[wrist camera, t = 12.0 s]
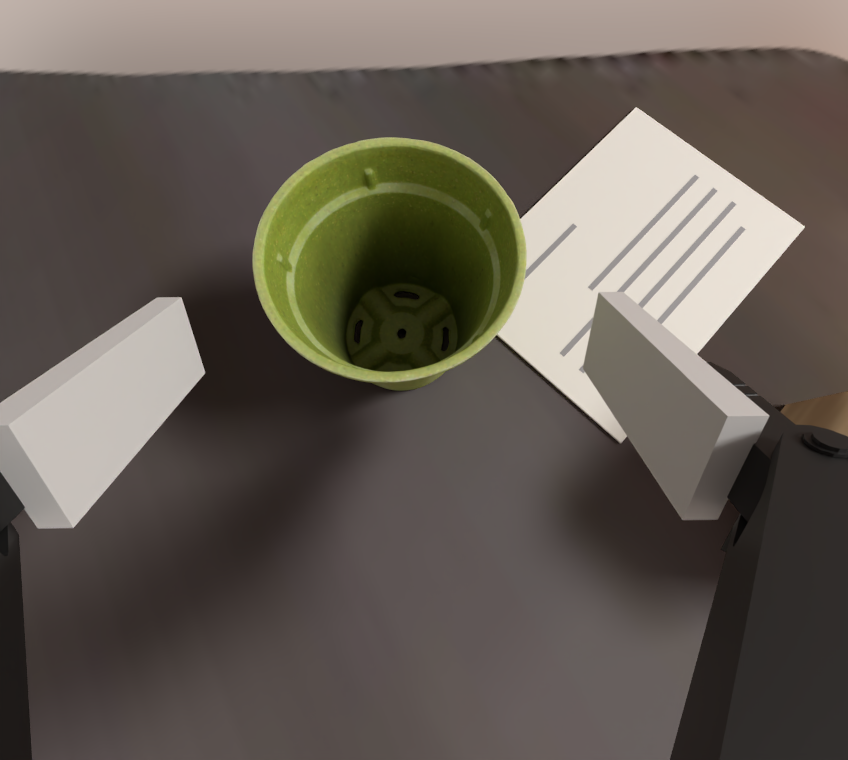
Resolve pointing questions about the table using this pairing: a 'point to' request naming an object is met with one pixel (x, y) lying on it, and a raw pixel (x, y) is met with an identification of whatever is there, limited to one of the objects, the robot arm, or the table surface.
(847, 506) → the robot arm
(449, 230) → the plant pot
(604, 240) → the letter
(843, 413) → the oak block
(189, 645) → the table surface
